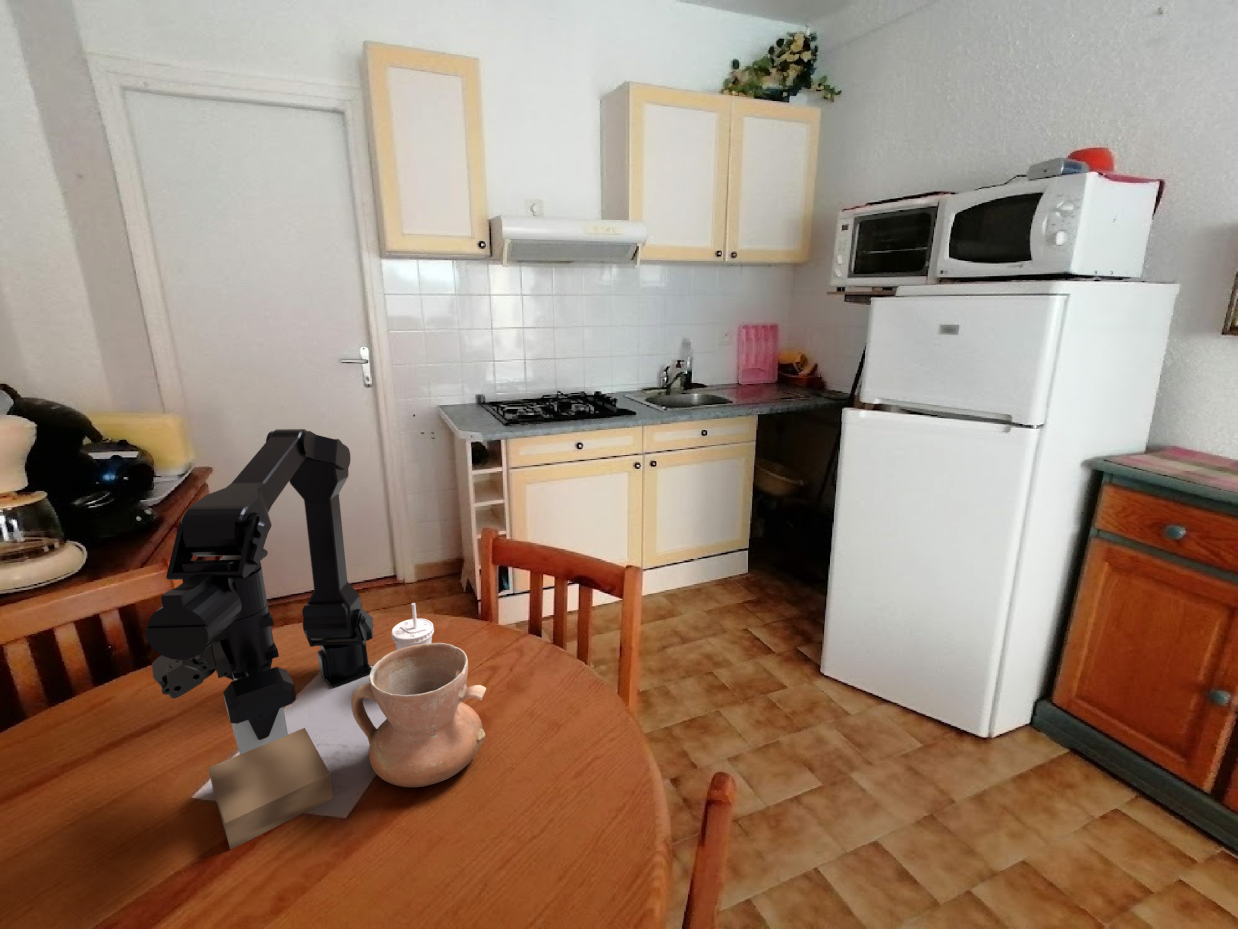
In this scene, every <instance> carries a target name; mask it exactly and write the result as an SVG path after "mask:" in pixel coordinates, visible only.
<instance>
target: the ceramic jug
mask: <svg viewBox="0 0 1238 929" xmlns="http://www.w3.org/2000/svg"><path fill="white" fill-rule="evenodd" d="M371 668H372V669H371V672H370V674H369V675H368V676H369V682H367V683H364V684H363V685H360V686H358V687H357V688H356V689H355V690H354V692H353V694H352V696H351V700H350V701H351V702H350V704H351V711H352V715H353V718H354V720H355V722H356V724H357V725H358V726H359V728H360V729H361V731H362V732H363V733H364V734H365V736H366V737H367V739H368V743H369V747H368V759H369V763H370V766H371V768H372V770H373V771H374V773H375V774H376V775H377V776H378V777H380V779H382V780H383V781H385V782H387V783H389V784H391V785H394V786H398V787H403V788H420V787H427V786H430V785H434V784H438V783H440V782H443V781H445V780H447V779H450V778H452V777H454V776H455V775H457V774H458V773H459V772H461V771H462V770H464V768H465V767H467V766H468V765H469V763H471V761H472V759H473V758H474V757H475V756H476V754H477V753H478V751H479V750H480V748H481V747H482V746H483V744H484V742H485V740H486V732H485V730H484V729H483V723H482V719H481V718H480V716H479V714H478V713H477V712H476V710H475V709H473V708H472V707H471V706H469V705H468V704H467V703H464V702H463V701H466V700H469V699H476V700H478V701H480V702H481V701H482V700H483V698H484V695H485V692H486V690H487V687H486V686H483V685H481V684H478V685H477V684H476V685H475V684H474V685H470V686H467V679H468V674H469V672H468V671H469V660H468V656H467V654H466V652H465V651H464V650H462V649H461V648H460V647H457V646H455V645H453V644H450V643H443V642H431V643H430V644H421V645H413V646H410V647H405V648H402V649H399V650H397V649H396V650H394V651H392V652H388V653H387V654H386V655H384V656H383V657H382V658H380V659H379V660H377V661H376V663H374V665H373V666H372V667H371ZM459 672H460V673H459ZM364 698H366V699H369V700H373V701H374V702H376V704H377V705H378V707H379V709H380V711H381V712H382V714H383V715H384V717H385V720H384V721H383V722H382V723H381V724H379V726H378V727H376V726H375V725H374V723H373V722H372V721H371V718H370V717H369V714H368V713H367V710H366V708H365V705H364V700H363V699H364Z"/></svg>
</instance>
